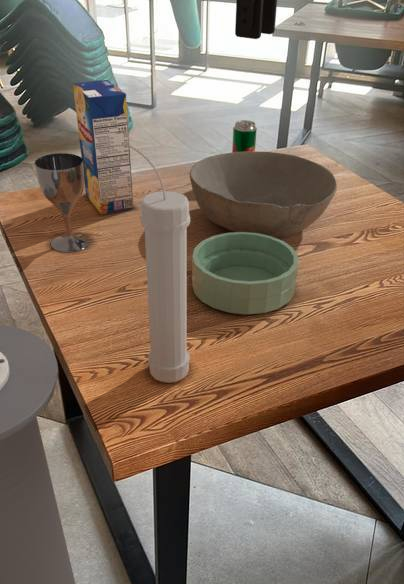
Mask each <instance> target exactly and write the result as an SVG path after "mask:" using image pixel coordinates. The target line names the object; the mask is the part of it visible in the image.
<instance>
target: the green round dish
mask: <svg viewBox="0 0 404 584" xmlns="http://www.w3.org/2000/svg"><path fill="white" fill-rule="evenodd" d="M192 251H193V252H192V254H191V287H192V290H193V292H194V293H193V294H194V295H195V296H196V297H197V298H198V299H199V300H200V301H201V302H202V303H204V304H206V305H207V306H209V307H211V308H213V309H215V310H218V311H222V312H225V313H226V312H227V313H230V314H238V315H256V314H257V315H258V314H265V313H269V312H272V311H275V310H279V309H280V308H282V307H283V306H285V305H287V304H289V302H290V301H291V300H292V298H293V297H294V295H295V291H296V284H297V277H298V271H299V255H298V253H297V252H296V250H295V249H294V248H293V247H292V246H291V245H289V244H288V243H287V242H286V241H284V240H282V239H280V238H278V237H272V236H268V235H263V234H259V233H250V232H233V231H231V232H224V233H220V234H216V235H212V236H210V237H208V238H205V239H203V240H201V241H200V242H199V243H198V244H197V245H196V246H195V247H194V248H193V250H192Z"/></svg>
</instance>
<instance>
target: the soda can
mask: <svg viewBox="0 0 404 584" xmlns="http://www.w3.org/2000/svg"><path fill="white" fill-rule="evenodd" d="M232 129H233V130H232V145H231V146H232V147H231V149H232V151H231V153H233V152H248V151H256V143H257V132H258V131H257V127H256V122H254V121H252V120H245V119H244V120H243V119H242V120H241V119H240V120H238V121H235V123H234V126H233V128H232Z"/></svg>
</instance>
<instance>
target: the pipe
mask: <svg viewBox="0 0 404 584" xmlns="http://www.w3.org/2000/svg"><path fill="white" fill-rule="evenodd" d="M129 148H131V149H132V150H134V151H135V152H137V153H138V154H139V155H141V156H142V157H143V158H144V159H145V160H146V161H147V162H148V163H149V165H150V166H151V168H152V169H153V170H154V172H155V174H156V175H157V178H158V181H159V182H160V186H161V189H162V191H155V192H151V193H148V194H146V195H144V196H143V197H142V198H141V201H140V212H141V213H140V218H139V219H140V225H141V226H142V227H143V228H144V244H145V245H144V246H145V247H144V248H145V266H146V285H147V306H148V323H149V325H148V326H149V342H150V343H149V344H150V345H149V346H150V347H149V348H150V351H149V353H148V355H147V362H148V365H149V373H150V375H151V376H152V378H154V380H156V381H158V382H160V383H167V384H170V383H177V382H179V381H182V380H183V379H184V378H186V376H187V375H188V373H189V368H190V365H189V364H190V361H191V355H190V353H189V351H188V349H187V348H188V347H187V346H188V344H187V343H188V341H187V338H188V335H187V334H188V333H187V331H188V329H187V322H188V320H187V317H188V316H187V313H188V312H187V311H188V310H187V309H188V305H187V304H188V303H187V299H188V298H187V296H188V295H187V293H188V290H187V289H188V288H187V287H188V284H187V283H188V280H187V279H188V278H187V277H188V276H187V275H188V274H187V268H188V267H187V266H188V265H187V260H188V259H187V258H188V257H187V255H188V254H187V252H188V251H187V250H188V249H187V248H188V246H187V245H188V244H187V243H188V240H187V239H188V238H187V237H188V235H187V228H188V227H189V225H190V224H191V215H190V202H189V200H188V197H187V196H186V195H185V194H183V193H181V192H176V191H170V190H169V191H168V190H165V186H164V184H163V180H162V177H161V175H160V173H159V171H158V170H157V168H156V166H155V165H154V164H153V162H152V161H151V160H150V158H148V156H146V155H145V154H144V153H143V152H142V151H140V150H139V149H137V148H136V147H134V146H133V145H131V144H129Z"/></svg>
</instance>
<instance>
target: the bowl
mask: <svg viewBox="0 0 404 584" xmlns="http://www.w3.org/2000/svg"><path fill="white" fill-rule="evenodd" d="M189 181H190V185H191V189H192V192H193V195H194V198H195V200H196V203H197V206H198V207H199V209H200V210H201V212H202V213H203V215H204V216H205V217H206V218H207V219H208V220H210V222H213V223H214V224H215V225H217V226H219V227H221V228H224V229H225V230H228V231H231V232H250V233H259V234H263V235H268V236H272V237H274V238H283V237H287V236H291V235H295V234H298V233H300V232H302V231H304V230H305V229H307V228H308V227H310V226H311V225H313V224H314V223H315V222H316V221H317V220H318V219H319V218H320V217H321V216H322V215H323V213H324V212H325V211H326V210H327V208H328V206H329V205H330V204H331V202H332V200H333V199H334V196H335V195H336V193H337V190H338V183H337V179H336V177H335V176H334V174H333V173H332V172H331V170H329V168H326V167H324V166H323V165H321V164H319V163H317V162H314V161H312V160H310V159H306V158H304V157H300V156H297V155H293V154H288V153H282V152H273V151H256V150H255V151H248V152H233V153H232V152H226V153H219V154H215V155H211V156H210V155H209V156H208V157H205V158H202V159H200V160H198V161H197V162H195V163H194V164H193V165H192V166H191V168H190V171H189Z"/></svg>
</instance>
